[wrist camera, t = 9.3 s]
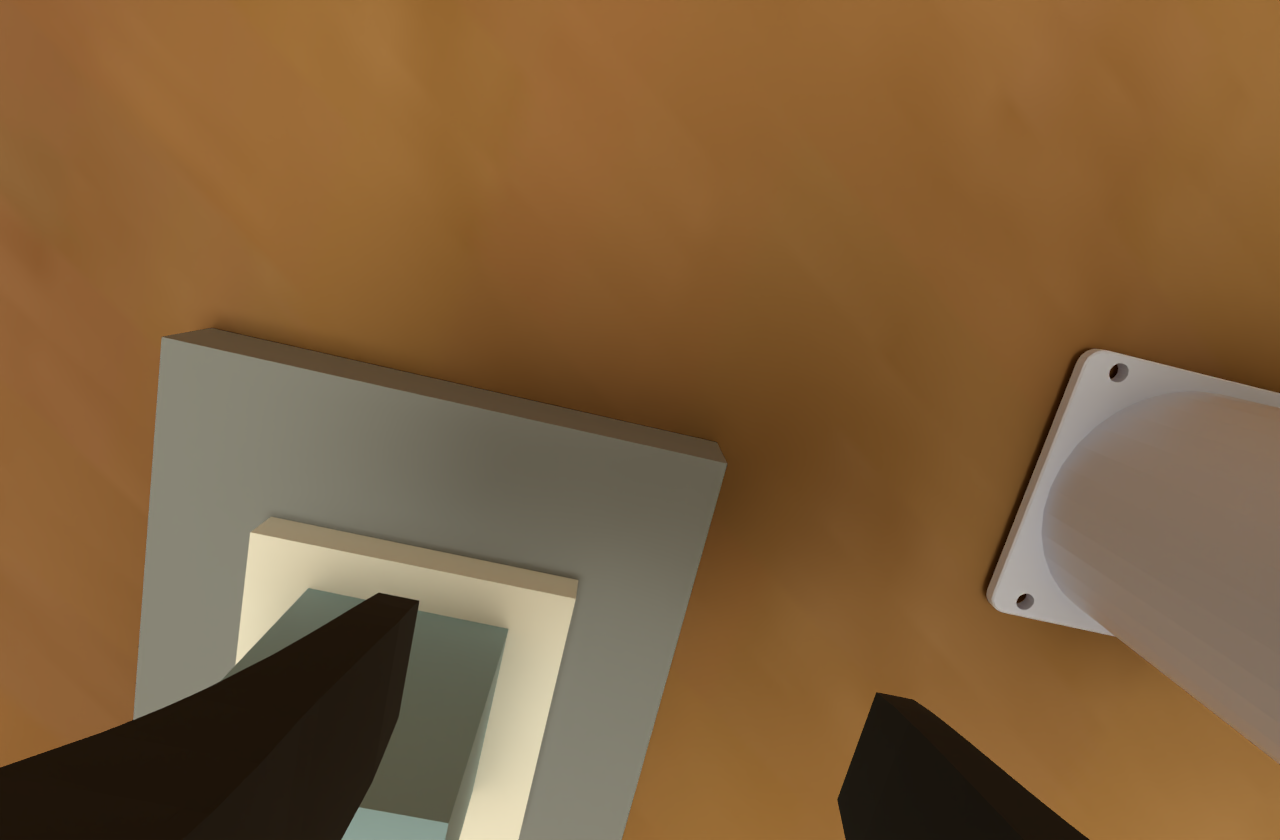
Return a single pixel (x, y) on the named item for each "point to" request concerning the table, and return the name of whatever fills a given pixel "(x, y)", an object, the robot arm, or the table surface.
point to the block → (416, 719)
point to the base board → (431, 550)
